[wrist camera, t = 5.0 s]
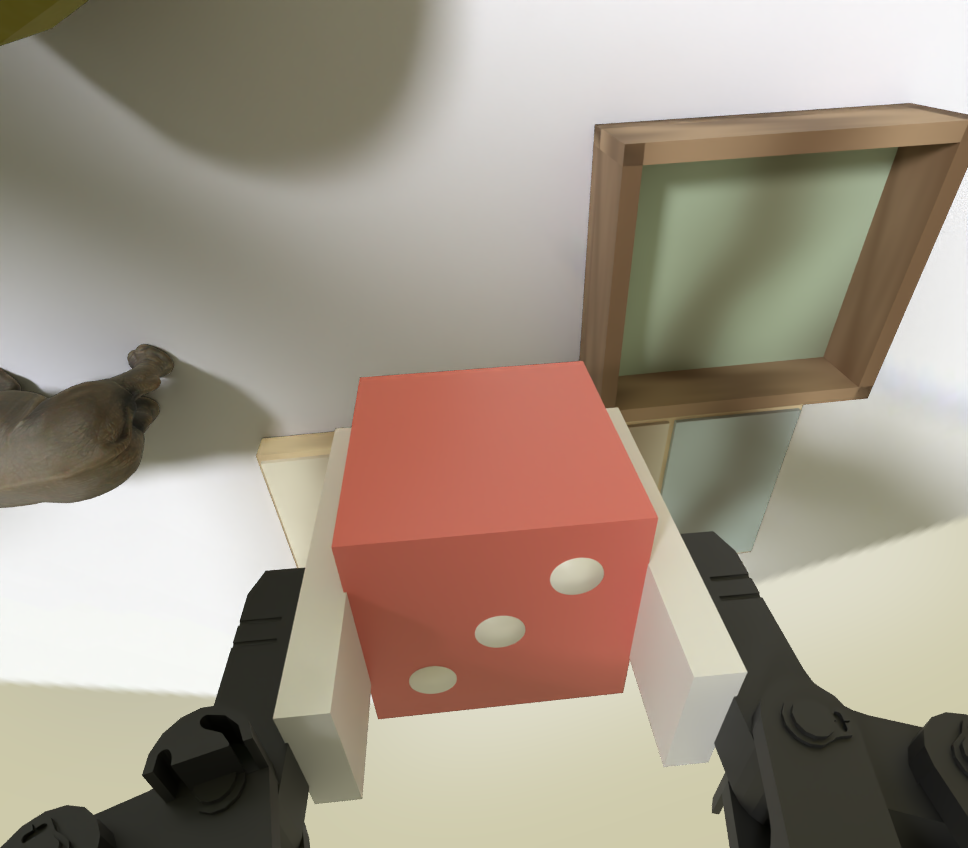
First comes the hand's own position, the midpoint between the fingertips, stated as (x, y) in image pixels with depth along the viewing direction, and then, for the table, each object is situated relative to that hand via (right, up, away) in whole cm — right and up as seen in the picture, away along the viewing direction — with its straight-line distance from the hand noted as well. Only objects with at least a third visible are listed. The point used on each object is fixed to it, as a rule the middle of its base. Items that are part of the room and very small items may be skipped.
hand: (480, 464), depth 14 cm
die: (0, 0, 0) cm, 1 cm away
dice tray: (+9, +7, +8) cm, 15 cm away
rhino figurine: (-19, +2, +9) cm, 21 cm away
